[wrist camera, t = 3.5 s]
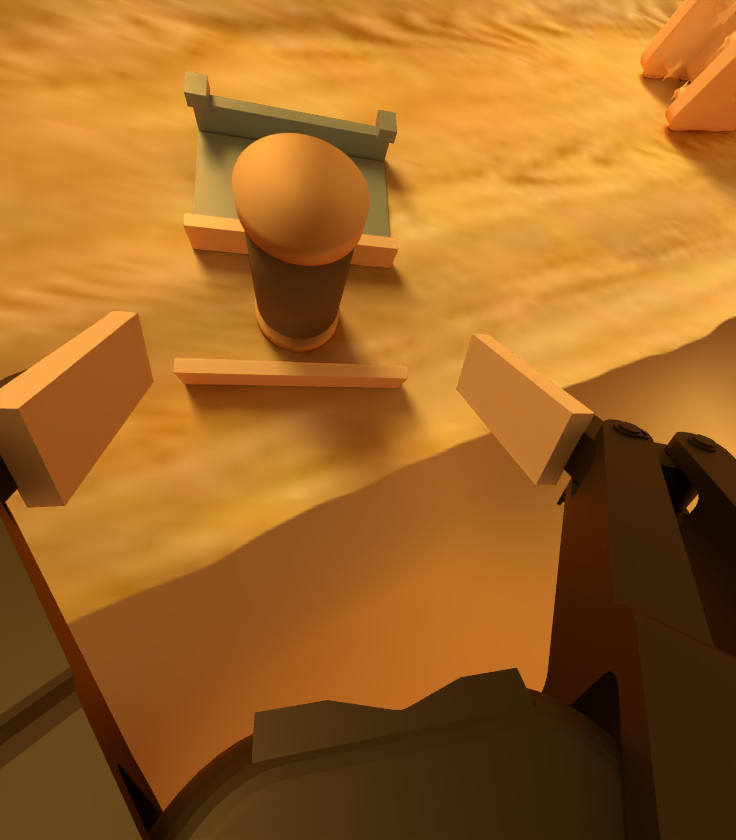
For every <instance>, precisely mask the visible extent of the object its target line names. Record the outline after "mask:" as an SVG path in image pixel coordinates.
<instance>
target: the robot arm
mask: <svg viewBox="0 0 736 840" xmlns="http://www.w3.org/2000/svg"><path fill="white" fill-rule="evenodd" d="M153 382H154V381H153V377H152V372H151V368H150V364H149V359H148V355H147V351H146V346H145V342H144V338H143V333H142V329H141V325H140V320H139V316H138V313H137V312H121V311H113V312H111V313H110V314H108V315H107V316H105V317H104V318H102V319H101V320H100V321H98V322H97V323H95V324H94V325H92V326H91V327H89V328H88V329H86V330H85V331H83V332H82V333H80V334H79V335H78V336H76V337H75V338H73V339H72V340H70V341H69V342H67V343H66V344H64V345H63V346H61V347H60V348H59V349H57V350H56V351H54V352H53V353H51V354H50V355H48V356H47V357H45V358H44V359H42V360H41V361H40V362H38V363H37V364H35V365H34V366H32V367H31V368H29V369H27V370H24V371H21V372H19V373H16V374H13V375H11V376H8V377H6V378H4V379H3V380H1V381H0V840H736V459H735V458H734V457H733V456H732V455H731V454H730V453H729V452H728V451H727V450H726V449H724V448H723V447H722V446H720V445H719V444H717V443H715V442H714V441H713V440H712V439H710V438H708V437H705V436H702V435H699V434H698V435H695V434H692V433H687V432H677V433H676V434H675V435H674V437H673V438H672V439H671V441H670V442H669V443H668V445H666V444H660V443H655V442H654V441H653V439H652V437H651V436H650V435H649V434H648V433H647V432H646V431H644V430H642V429H640V428H638V427H637V426H636V425H633V424H631V423H627V422H622V421H619V420H610V419H609V420H605V421H602V420H601V419H600V418H598V417H597V416H596V415H595V414H594V413H593V412H592V411H591V410H589V409H588V408H587V407H585V406H584V405H583V404H581V403H580V402H578V401H577V400H576V399H575V398H573V397H572V396H571V395H569V394H568V393H566V392H565V391H564V390H562V389H561V388H560V387H558V386H557V385H556V384H554V383H553V382H552V381H550V380H549V379H548V378H546V377H545V376H543V375H542V374H541V373H539V372H538V371H537V370H535V369H534V368H533V367H531V366H530V365H529V364H527V363H526V362H525V361H523V360H522V359H520V358H519V357H518V356H516V355H515V354H514V353H512V352H511V351H510V350H508V349H507V348H506V347H504V346H503V345H502V344H500V343H499V342H497V341H496V340H495V339H493V338H492V337H491V336H489V335H488V334H472V336H471V340H470V343H469V347H468V350H467V354H466V357H465V361H464V364H463V368H462V371H461V375H460V378H459V382H458V385H457V388H456V389H457V391H458V392H459V393H460V394H461V395H462V397H463V398H464V399H465V400H466V402H467V403H468V404H469V405H470V406H471V408H472V409H473V410H474V411H475V412H476V414H477V415H478V416H479V417H480V418H481V420H482V421H483V422H484V423H485V425H486V426H487V427H488V428H489V429H490V431H491V432H492V433H493V434H494V435H495V437H496V438H497V439H498V440H499V441H500V443H501V444H502V445H503V446H504V447H505V449H506V450H507V451H508V452H509V454H510V455H511V456H512V457H513V458H514V460H515V461H516V462H517V463H518V465H519V466H520V467H521V468H522V469H523V470H524V472H525V473H526V474H527V475H528V477H529V478H530V479H531V480H532V481H533V483H534V484H535V485H556V484H557V482H558V480H559V478H560V476H561V474H562V472H563V471H564V470H565V471H566V472H567V473H568V474H569V475H570V476H571V477H572V478H571V480H570V482H569V483H568V485H567V487H566V489H565V490H564V492H563V494H562V496H561V497H560V499H559V501H558V503H557V504H558V505H561V504H562V502H565V505H564V515H563V525H562V535H561V546H560V555H559V565H558V575H557V585H556V595H555V605H554V615H553V625H552V635H551V645H550V655H549V665H548V673H547V679H546V682H545V686H544V688H543V691H542V693H541V692H538V691H535V690H531V689H528V688H526V686H525V684H524V682H523V680H522V678H521V676H520V674H519V672H518V670H517V668H513V669H507V670H501V671H495V672H489V673H483V674H477V675H472V676H466V677H461V678H459V679H457V680H455V681H453V682H452V683H450V684H448V685H446V686H445V687H443V688H441V689H440V690H438V691H436V692H434V693H433V694H431V695H429V696H427V697H426V698H424V699H422V700H420V701H419V702H417V703H415V704H413V705H412V706H410V707H408V708H406V709H403V710H390V709H383V708H376V707H370V706H363V705H357V704H349V703H342V702H336V701H329V700H326V701H320V702H315V703H308V704H303V705H297V706H292V707H285V708H279V709H274V710H268V711H262V712H256V713H255V718H254V732H253V734H252V735H250V736H248V737H246V738H244V739H242V740H240V741H239V742H237V743H235V744H234V745H232V746H231V747H229V748H228V749H227V750H225V751H224V752H222V753H221V754H219V755H218V756H217V757H216V758H214V759H213V760H212V761H211V762H210V763H209V764H207V765H206V766H205V767H204V768H203V769H201V770H200V771H199V772H198V773H197V774H196V775H195V776H194V777H193V778H192V780H190V781H189V783H188V784H187V785H186V786H185V787H184V788H183V789H182V790H181V791H180V792H179V793H178V794H177V796H176V797H175V798H174V799H173V800H172V802H171V803H170V804H169V806H168V807H167V808H166V809H165V810H164V812H163V811H162V809H161V807H160V805H159V803H158V801H157V799H156V797H155V795H154V793H153V791H152V789H151V788H150V786H149V784H148V782H147V780H146V778H145V777H144V775H143V773H142V772H141V770H140V768H139V766H138V765H137V763H136V761H135V759H134V757H133V756H132V754H131V752H130V750H129V748H128V746H127V744H126V742H125V740H124V738H123V736H122V734H121V732H120V730H119V728H118V726H117V724H116V722H115V720H114V718H113V716H112V714H111V712H110V710H109V708H108V706H107V704H106V702H105V700H104V698H103V696H102V694H101V692H100V690H99V688H98V686H97V684H96V682H95V680H94V678H93V676H92V674H91V672H90V669H89V668H88V666H87V663H86V661H85V659H84V657H83V655H82V654H81V651H80V649H79V647H78V645H77V644H76V641H75V639H74V637H73V636H72V633H71V632H70V630H69V627H68V625H67V623H66V621H65V619H64V617H63V615H62V613H61V611H60V609H59V607H58V605H57V603H56V601H55V599H54V597H53V595H52V593H51V591H50V589H49V587H48V585H47V583H46V581H45V579H44V577H43V575H42V573H41V571H40V569H39V567H38V565H37V563H36V561H35V559H34V557H33V555H32V553H31V551H30V549H29V547H28V545H27V543H26V541H25V539H24V537H23V535H22V533H21V531H20V529H19V527H18V525H17V523H16V521H15V518H14V516H13V514H12V512H11V511H10V509H9V508H8V506H7V504H6V503H5V502H6V501H7V499H8V498H9V497H10V496H11V495H12V494H13V493H14V492H15V491H16V490H18V492H19V493H20V495H21V497H22V499H23V500H24V502H25V504H26V506H27V507H48V506H65V505H66V504H67V502H68V501H69V499H70V498H71V497H72V495H73V494H74V492H75V491H76V490H77V488H78V487H79V485H80V484H81V483H82V481H83V480H84V478H85V477H86V476H87V474H88V473H89V471H90V470H91V469H92V467H93V466H94V464H95V463H96V462H97V460H98V459H99V457H100V456H101V455H102V453H103V452H104V450H105V449H106V448H107V446H108V445H109V443H110V442H111V441H112V439H113V438H114V436H115V435H116V434H117V432H118V431H119V429H120V428H121V427H122V425H123V424H124V423H125V421H126V420H127V418H128V417H129V416H130V414H131V413H132V411H133V410H134V409H135V407H136V406H137V404H138V403H139V402H140V400H141V399H142V397H143V396H144V395H145V393H146V392H147V390H148V389H149V388H150V386H151V385H152V383H153ZM697 495H698V497H699V499H698V503H697V505H696V507H695V508H694V509H693V510H692V511H691V513H689V512H688V510H687V509H686V507H687V506H688V505H689V504H690V503H691V502H692V500H693V499H694V498H695V497H696V496H697Z"/></svg>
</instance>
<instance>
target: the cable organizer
mask: <svg viewBox="0 0 736 840" xmlns="http://www.w3.org/2000/svg"><path fill="white" fill-rule="evenodd" d="M640 62H641V65H642V68H643V70H644V71H643V75H644V77H645V78H657V79H661V78H663V77H664V76H665V78H664V79H666V78H667V77H670V78H671V77H679V78H680V79H681V80H687V82H686V83H685V84H684V85H683V86H682V87H681V88H679V89H677V90H675V91H674V95H673V96H672V98H671V99H673V98H674V97H676V98H677V99H676V100H675V101H674V102H673V103H672V104H671V105H670V106H669V107H668V109H667V111H666V114H665V116H666V118H667V121H668V123H669V125H668V127H669V129H670V130H671V131H687V130H706V131H723V130H724V131H732V130H736V0H685V1H684V2H683V3H682V4H681V6H680V7H679V8H678V9H677V11H676V12H675V13H674V14H673V16H672V17H671V18H670V19H669V21H668V22H667V23H666V24H665V26H664V27H663V28H662V29H661V31H660V32H659V33H658V34H657V36H656V37H655V38H654V39H653V41H652V42H651V43H650V44H649V46H648V47H647V48H646V49H645V51H644V52H643V54H642V56H641V60H640ZM664 79H663V80H664ZM663 80H662V81H663ZM662 81H661V82H662ZM688 81H690V82H691V84H690V85H687V83H688ZM671 99H670V100H671ZM670 100H669V101H670ZM669 101H668V102H669Z"/></svg>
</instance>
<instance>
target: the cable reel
mask: <svg viewBox="0 0 736 840" xmlns="http://www.w3.org/2000/svg"><path fill="white" fill-rule="evenodd" d="M232 188H233V194H234V199H235V205H236V210H237V215H238V218H239V220H240V223H241V225H242V227H243V229H244V231H245V237H246V243H247V249H248V255H249V261H250V266H251V272H252V278H253V284H254V290H255V296H256V298H255V312H256V317H257V322H258V325H259V327H260V329H261V331H262V332H263V334H264V335H265V336H266V338H267V339H268V340H269V341H271V342H272V343H273V344H275V345H276V346H278V347H280V348H282V349H285V350H288V351H293V352H307V351H311V350H315V349H317V348H319V347H321V346H323V345H324V344H325V343H327V342H328V340H329V339H330V338H331V337H332V335H333V334H334V332H335V329H336V326H337V323H338V319H339V311H340V309H339V305H340V302H341V298H342V294H343V290H344V287H345V283H346V279H347V275H348V271H349V268H350V264H351V260H352V256H353V253H354V249H355V246H356V245H357V244H358V242H359V240H360V238H361V236H362V233H363V230H364V227H365V223H366V219H367V216H368V212H369V206H370V198H369V191H368V187H367V184H366V181H365V179H364V177H363V175H362V173H361V172H360V170H359V169H358V167H357V166H356V165H355V163H354V162H353V161H352V160H351V159H350V158H349V157H348V156H347V155H346V154H345V153H343V152H342V151H341V150H339V149H338V148H336V147H335V146H333V145H331V144H330V143H328V142H326V141H323V140H321V139H319V138H316V137H313V136H309V135H304V134H297V133H280V134H274V135H269V136H266V137H264V138H261V139H259V140H257V141H255V142H254V143H252V144H251V145H249V146H248V147H247V148H246V149H245V150H244V151H243V152H242V153H241V155H240V156H239V157H238V159H237V161H236V163H235V166H234V169H233V174H232Z"/></svg>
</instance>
